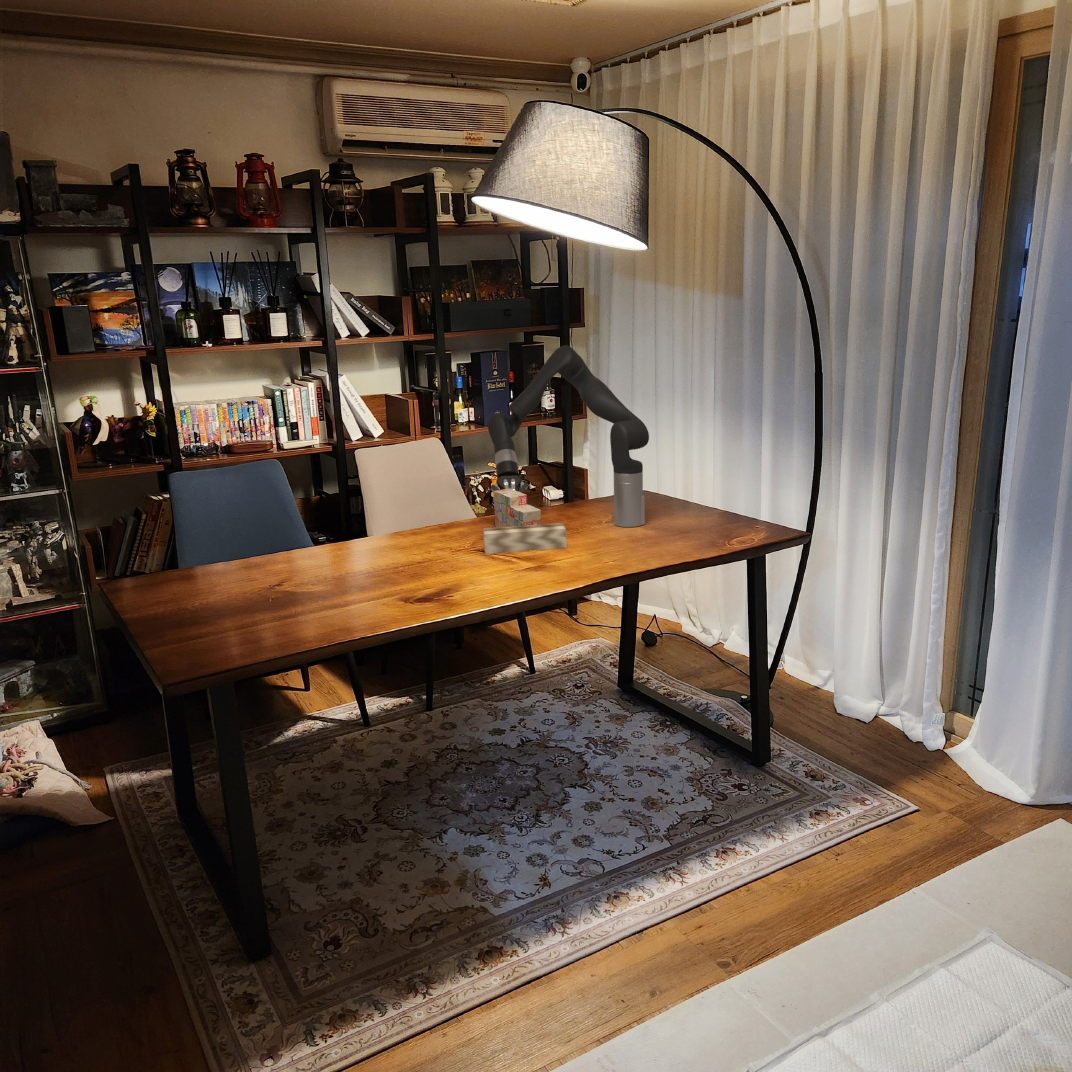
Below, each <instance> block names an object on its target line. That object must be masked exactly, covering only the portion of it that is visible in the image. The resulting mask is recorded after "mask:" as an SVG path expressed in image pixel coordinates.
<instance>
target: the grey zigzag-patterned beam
mask: <svg viewBox="0 0 1072 1072" xmlns="http://www.w3.org/2000/svg"><path fill="white" fill-rule="evenodd" d="M482 533H483V536H482V538H483V551H484V554H485V555H491V554H493V555H494V554H506V553H507V552H509V553H518V552H519V551H523V552H530V551H529V550H536V551H542V550H541V549H550V550H562V549H563V548H564V549H567V528H566V527H565V523H564V522H557V523H545V524H542V523H541V524H540V525H526V526H511V527H486V528H484V527H483V528H482ZM507 554H508V553H507Z"/></svg>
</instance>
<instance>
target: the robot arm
mask: <svg viewBox="0 0 1072 1072" xmlns="http://www.w3.org/2000/svg"><path fill="white" fill-rule="evenodd" d="M557 374H559V375H560V376H561V377H562V378H563V379H565V380H566V381H567V382H568V383H569V384H570V385H572V386H573V387H574V388H575V390H577V391H578V394H579V397H580V399H581V401H582V403H584V405H585V406H586V407H587V408H588V410H589V411H590V412H592V414H593V415H595V416H597V417H599V418H601V419H603V420H605V421H607V422H609V423H612V426H611V428H610V434H609V438H610V440H609V441H610V456H611V464H612V467H613V520H614V522H613V525H615V526H616V527H622V528H636V527H639V526H645V525H646V524H645V521H646V518H645V517H646V513H645V512H646V509H645V508H646V506H645V505H646V504H645V503H646V500H645V498H646V497H645V495H644V491H643V490H644V489H643V488H644V487H643V486H644V485H643V484H644V481H643V479H644V478H643V477H644V476H643V475H644V474H643V473H644V472H643V471H644V469H643V468H644V467H643V462H642V461H640V460H637V459H633V458H632V457H631V455H630V451H632V450H633V451H634V450H640V449H642V448H644V447H646V446H647V445H648V443H649V441H650V433H649V430H648V427H647V426H646V424H645V423H644V421H642V420H641V419H640V418H639V417H638V416H637V415H636V414H634V413H633V412H632V411H631V410H630V409H629V408H627V407H626V406H625V405H624V403H623V402H622V401H621V400H620V399H619V398H618V397H617V396H616V395H615V394H614V393H613V391H612V390H611V389H610V388H609V387H608V385H606V384H605V382H603V381H602V380H601V379H600V378H598V377H596V376H595V375H594V374H593V373H592V371H591V370H590V369H589V368H588V366H587V364H586V362H585V361H584V359H583V358H582V356H580V354H578V353H577V351H576V350H575V349H574V348H573V347H571V346H570V345H566V344H565V345H562V346H559V347H558V348H556V349H555V350H554V351H553V352H552V354H551V355H550V356H549V357H548V358H547V360H546V362H544V364H543V365H542V367H541V368H540V370H539V371H538V372H537V374H536V375H535V377H534V378H533V379H532V381H530V383H529V384H528V386H527V387H526V388H525V389H523V391H522V392H521V393H520V394H519V395H518V396H517V397H515V399H514V400H513V401H512V402H511V403H510V404H509V406H508V408H509V411H510V416H509V417H506V415H504V414H503V413H500V412H496V413H493V414H492V415H491V416H490V417H489V419H488V422H487V429H488V430H487V431H488V433H489V436H490V439H491V442H492V444H493V447H494V464H495V470H496V471H495V472H496V481H495V482H496V483H495V484H491V485H490V486H491V487H490V491H491V492H492V493H493V491H497V490H503V489H513V490H515V491H518V492H521V493H523V494H525V493H526V491H527V490H528V489H529V488H528V487H529V483H528V482H527V481H526V482H524V481H522V478H521V477H520V471H519V462H518V458H517V453H516V449H515V448H516V447H515V443H514V440H513V439H512V438H513V437H514V436H515V435H516V433H518V431H519V429H520V427H521V426H522V424H523V422H524V420H525V419H526V418H527V417H528V416H529V414H531V413H532V412H533V411H534V410H535V409H536V408H538V406H539V404H540V403H541V401H542V399H543V396H544V394H545V391H546V390H547V389H546V388H547V387H548V385H549V383H550V381H551V380H552V378H553V377H554V376H556V375H557ZM519 488H520V489H519ZM518 489H519V490H518Z"/></svg>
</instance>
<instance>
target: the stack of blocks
mask: <svg viewBox="0 0 1072 1072" xmlns="http://www.w3.org/2000/svg"><path fill="white" fill-rule="evenodd" d="M518 491H519V490H516V491H515V490H513V489H503V490H501V489H499V490H497V491H493V492H492V493H493V494H492V495H493V508H494V521H495V522H494V524H495V526H496V527H495V526H494V527H495V528H497V527H511V526H526V525H540V524H542V523H541V519H542V513H541V510H542V509H539V508H537V507H536V506H533V505H531V504H528V495H527V494H526V493H524V494H523V493H521V492H518Z"/></svg>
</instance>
